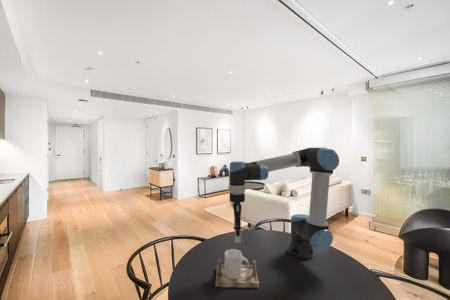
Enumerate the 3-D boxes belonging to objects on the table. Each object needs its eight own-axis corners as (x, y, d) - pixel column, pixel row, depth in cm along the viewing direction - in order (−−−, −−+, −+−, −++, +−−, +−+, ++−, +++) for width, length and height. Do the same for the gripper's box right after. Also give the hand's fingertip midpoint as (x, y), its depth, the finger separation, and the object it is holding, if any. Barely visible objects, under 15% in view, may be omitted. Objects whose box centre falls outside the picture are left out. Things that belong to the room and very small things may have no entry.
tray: (255, 269, 108) (255, 254, 108) (258, 287, 94) (259, 270, 94) (217, 268, 109) (217, 253, 109) (215, 286, 95) (215, 269, 95)
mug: (248, 281, 97) (248, 259, 96) (223, 279, 98) (223, 257, 98) (248, 270, 105) (249, 250, 105) (225, 268, 107) (225, 248, 106)
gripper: (229, 187, 113) (229, 225, 114) (229, 199, 88) (229, 248, 89) (243, 187, 113) (243, 225, 114) (246, 199, 88) (246, 248, 89)
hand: (237, 235), depth 101 cm, fingers open, 13 cm apart
